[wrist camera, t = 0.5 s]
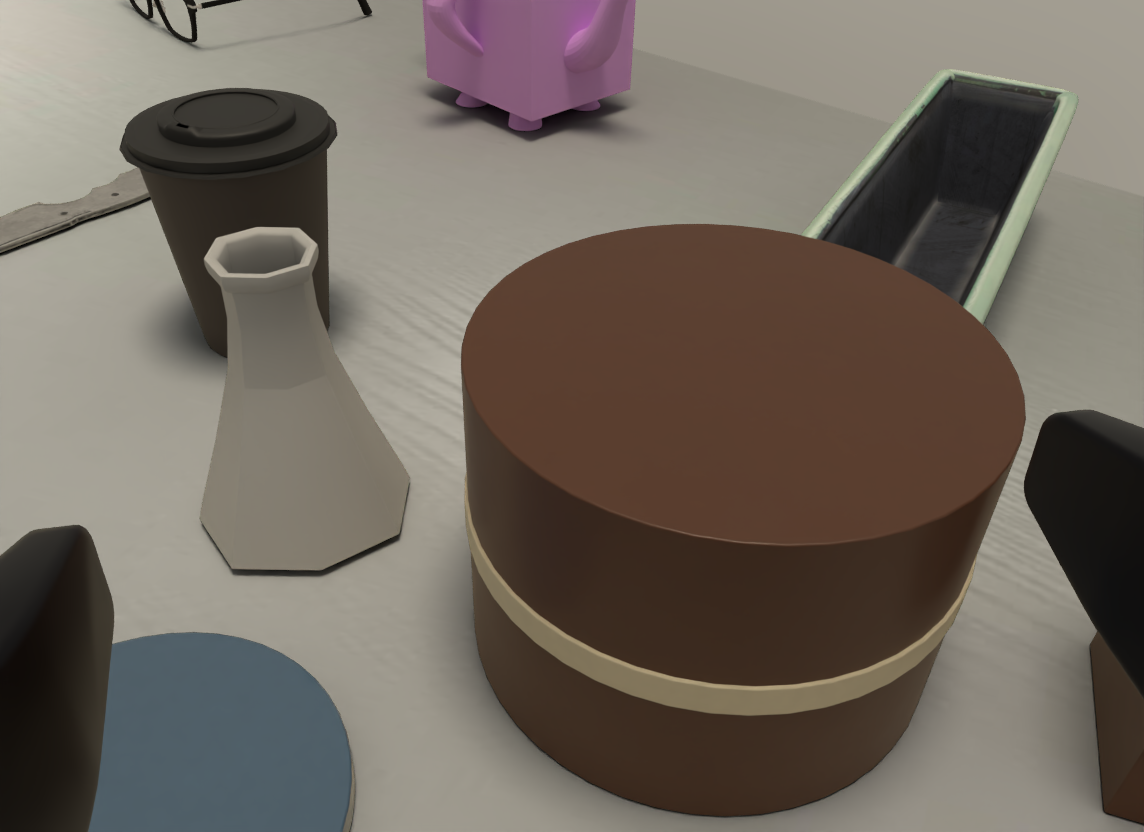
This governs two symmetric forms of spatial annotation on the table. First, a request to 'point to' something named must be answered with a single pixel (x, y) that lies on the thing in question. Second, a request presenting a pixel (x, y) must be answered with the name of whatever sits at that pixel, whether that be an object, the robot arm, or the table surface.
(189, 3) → the eyeglasses
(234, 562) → the flask
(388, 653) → the table surface
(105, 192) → the knife
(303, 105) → the coffee cup
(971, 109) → the planter
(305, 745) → the plate
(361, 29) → the table surface
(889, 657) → the cake
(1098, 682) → the cake slice
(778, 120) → the table surface
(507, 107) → the teapot
